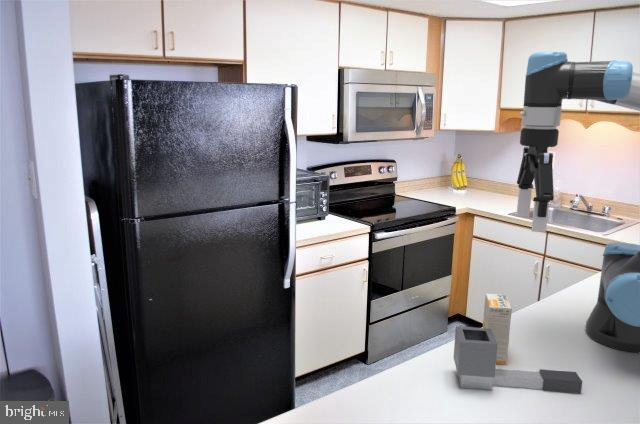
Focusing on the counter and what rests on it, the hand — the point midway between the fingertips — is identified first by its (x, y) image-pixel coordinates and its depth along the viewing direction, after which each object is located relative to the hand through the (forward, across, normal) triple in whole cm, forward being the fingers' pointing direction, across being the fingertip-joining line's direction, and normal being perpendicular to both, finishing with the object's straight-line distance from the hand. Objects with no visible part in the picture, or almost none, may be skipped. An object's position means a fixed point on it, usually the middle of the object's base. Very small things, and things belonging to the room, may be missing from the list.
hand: (530, 223), depth 115 cm
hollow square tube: (+26, +19, -13) cm, 35 cm away
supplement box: (+29, +7, -7) cm, 31 cm away
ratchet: (+29, +19, -5) cm, 35 cm away
